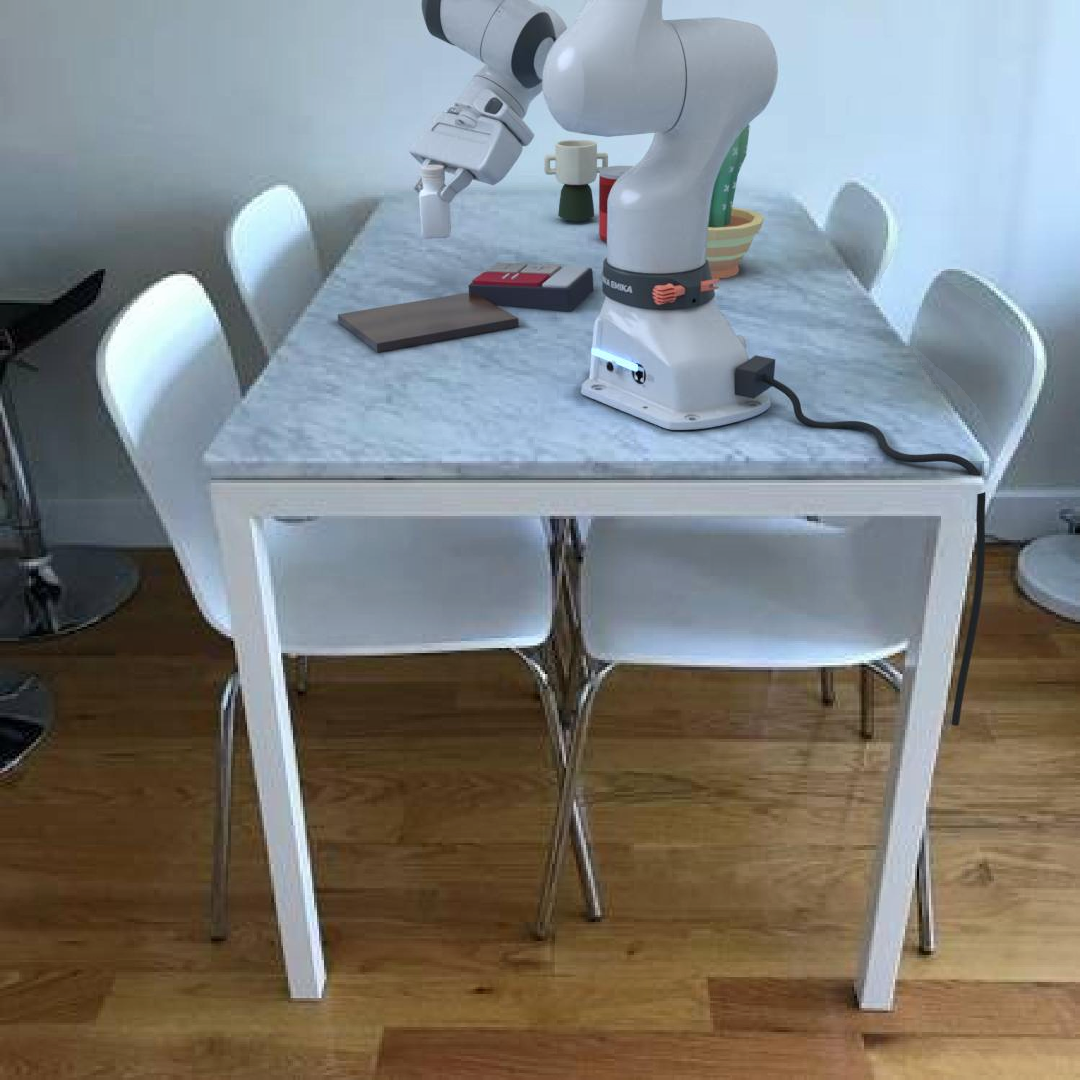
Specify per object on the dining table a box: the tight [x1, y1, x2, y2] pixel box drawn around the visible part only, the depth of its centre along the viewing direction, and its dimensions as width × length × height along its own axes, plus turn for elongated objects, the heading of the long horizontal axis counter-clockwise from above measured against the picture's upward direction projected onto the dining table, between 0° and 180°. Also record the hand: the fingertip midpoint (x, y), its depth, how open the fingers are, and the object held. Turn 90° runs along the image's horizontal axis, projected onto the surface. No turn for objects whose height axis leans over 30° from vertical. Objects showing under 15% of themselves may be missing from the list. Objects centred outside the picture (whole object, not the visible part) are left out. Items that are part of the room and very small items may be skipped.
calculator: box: [468, 262, 594, 313], centre depth 174 cm, size 11×4×15 cm
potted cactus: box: [706, 123, 765, 279], centre depth 179 cm, size 15×15×25 cm
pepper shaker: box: [418, 165, 452, 239], centre depth 172 cm, size 4×4×10 cm
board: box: [337, 292, 520, 353], centre depth 163 cm, size 14×20×1 cm
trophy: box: [543, 139, 609, 222], centre depth 211 cm, size 11×7×13 cm, turn 95°
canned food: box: [598, 165, 635, 243], centre depth 200 cm, size 8×8×11 cm
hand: (430, 195), depth 171 cm, fingers closed on pepper shaker, 5 cm apart
